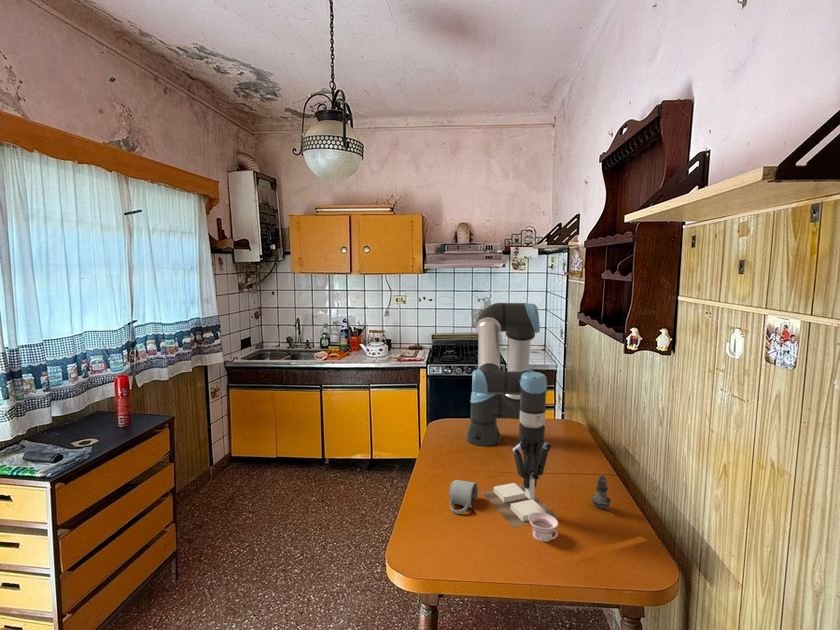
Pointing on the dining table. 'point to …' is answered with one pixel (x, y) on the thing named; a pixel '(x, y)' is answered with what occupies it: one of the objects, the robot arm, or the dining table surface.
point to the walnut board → (506, 507)
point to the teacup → (543, 526)
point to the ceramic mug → (462, 494)
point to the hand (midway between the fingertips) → (529, 497)
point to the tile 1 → (509, 492)
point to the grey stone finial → (601, 494)
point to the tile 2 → (526, 509)
